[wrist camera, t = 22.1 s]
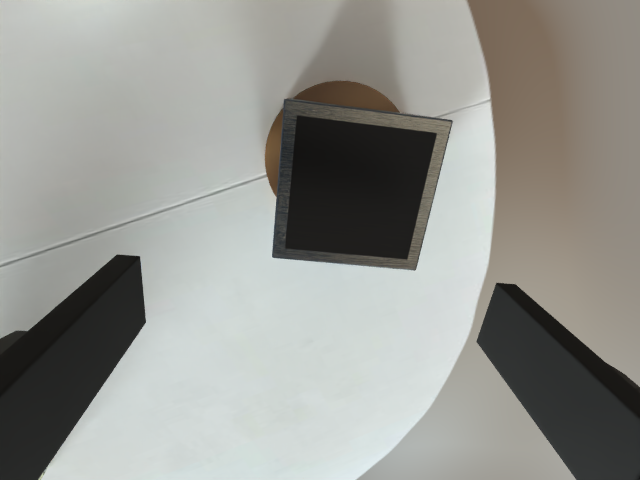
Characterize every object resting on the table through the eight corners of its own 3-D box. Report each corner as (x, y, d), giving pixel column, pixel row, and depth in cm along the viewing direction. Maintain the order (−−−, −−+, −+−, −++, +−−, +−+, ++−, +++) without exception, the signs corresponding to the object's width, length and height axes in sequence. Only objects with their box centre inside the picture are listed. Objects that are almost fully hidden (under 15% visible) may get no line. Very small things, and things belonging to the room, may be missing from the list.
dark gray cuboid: (416, 271, 24) (453, 120, 21) (271, 258, 23) (283, 98, 20) (380, 216, 35) (400, 112, 32) (282, 206, 35) (291, 98, 31)
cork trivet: (235, 138, 33) (234, 139, 32) (364, 47, 30) (365, 46, 30) (317, 251, 37) (317, 255, 37) (434, 180, 35) (436, 181, 34)
